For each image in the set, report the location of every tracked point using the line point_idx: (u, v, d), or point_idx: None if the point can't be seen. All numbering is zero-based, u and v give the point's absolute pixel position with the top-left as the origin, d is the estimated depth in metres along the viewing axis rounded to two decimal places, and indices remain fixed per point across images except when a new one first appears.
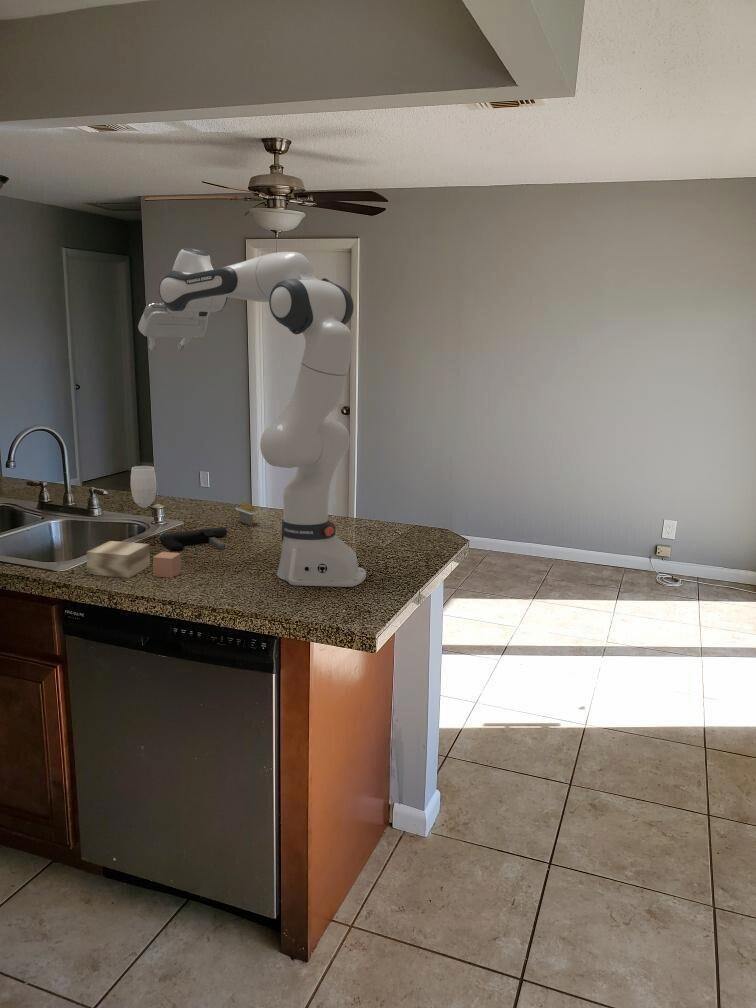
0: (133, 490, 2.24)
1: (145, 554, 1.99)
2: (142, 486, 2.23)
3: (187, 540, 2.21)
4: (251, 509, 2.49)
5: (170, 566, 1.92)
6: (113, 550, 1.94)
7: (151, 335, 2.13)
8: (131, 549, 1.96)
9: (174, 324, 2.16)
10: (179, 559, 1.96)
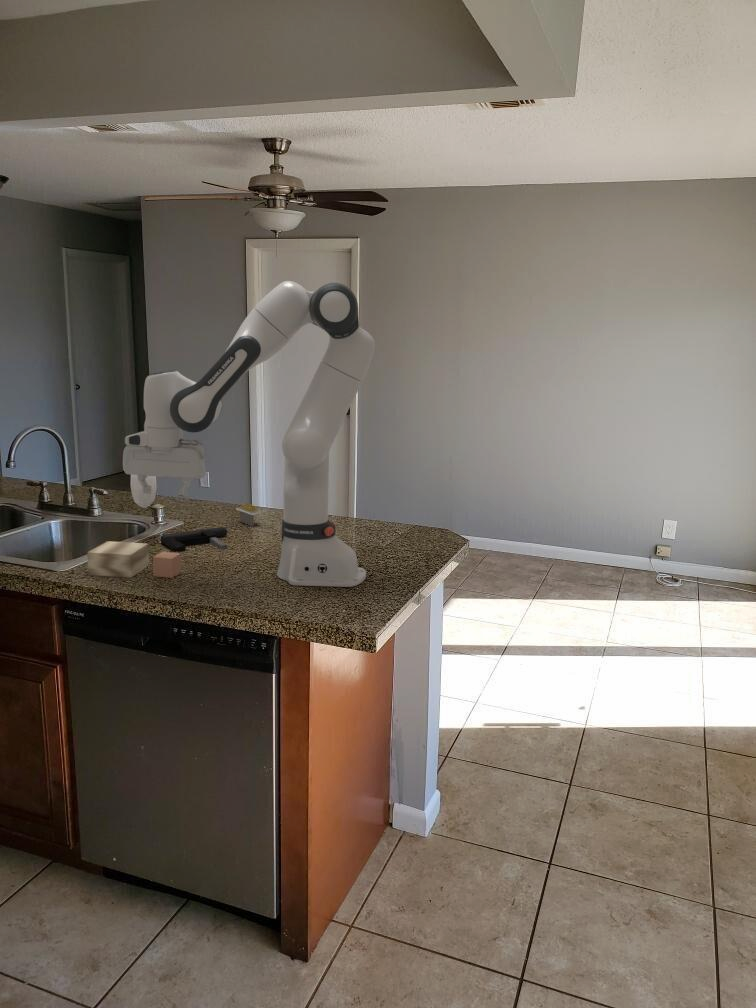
0: (133, 490, 2.24)
1: (145, 554, 2.00)
2: None
3: (188, 540, 2.21)
4: (252, 509, 2.49)
5: (170, 566, 1.92)
6: (114, 550, 1.94)
7: None
8: (132, 549, 1.96)
9: None
10: (179, 559, 1.96)
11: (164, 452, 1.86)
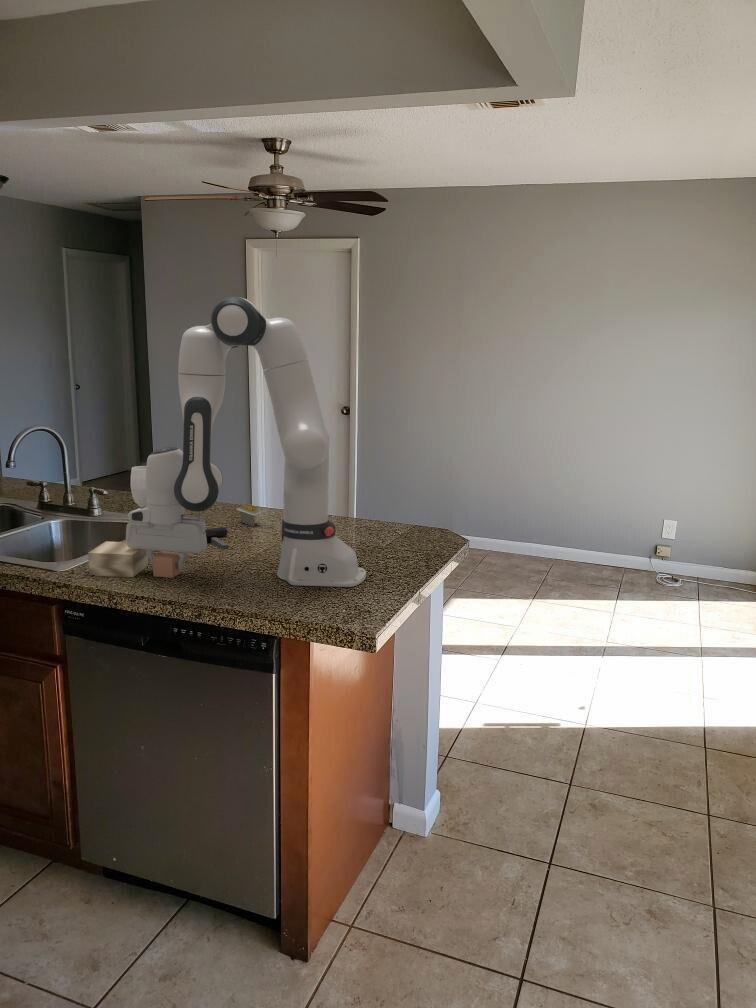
0: (133, 490, 2.24)
1: (145, 553, 2.00)
2: (142, 486, 2.23)
3: None
4: (253, 510, 2.49)
5: (170, 566, 1.92)
6: (115, 550, 1.94)
7: None
8: (132, 549, 1.96)
9: None
10: (179, 559, 1.96)
11: (166, 528, 1.90)
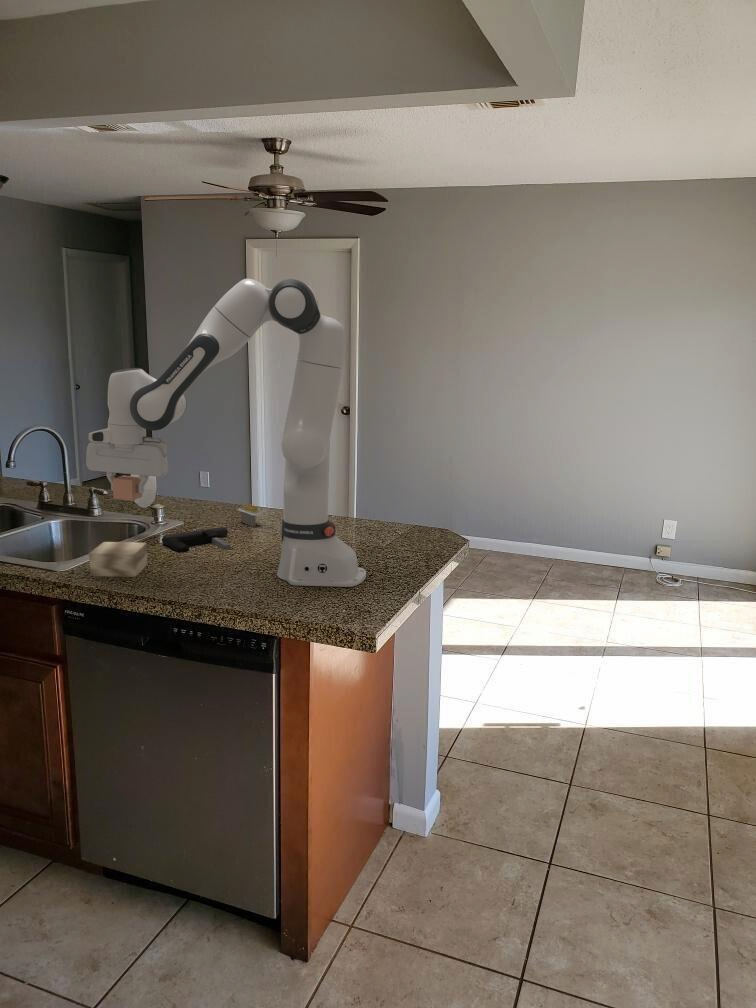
0: None
1: (144, 553, 2.00)
2: None
3: (191, 541, 2.21)
4: (254, 510, 2.48)
5: (130, 488, 1.90)
6: (116, 550, 1.94)
7: None
8: (133, 548, 1.96)
9: None
10: None
11: (127, 449, 1.88)
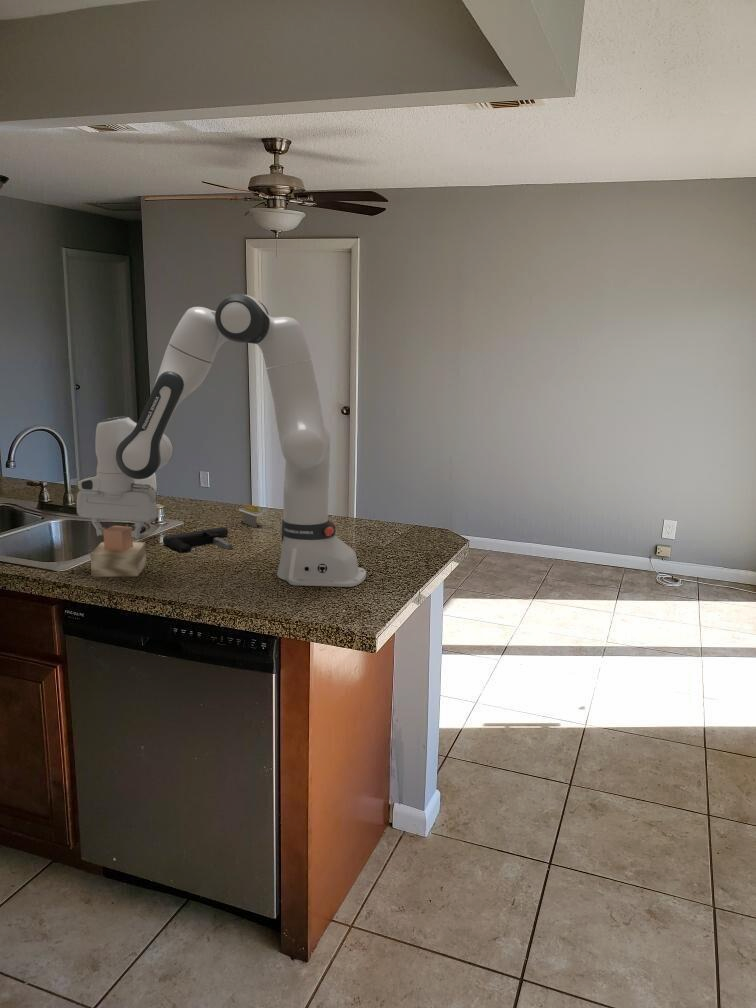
0: None
1: (143, 552, 2.01)
2: None
3: (192, 541, 2.21)
4: (255, 510, 2.48)
5: (120, 539, 1.93)
6: None
7: None
8: (133, 548, 1.97)
9: None
10: (130, 533, 1.97)
11: (116, 496, 1.91)
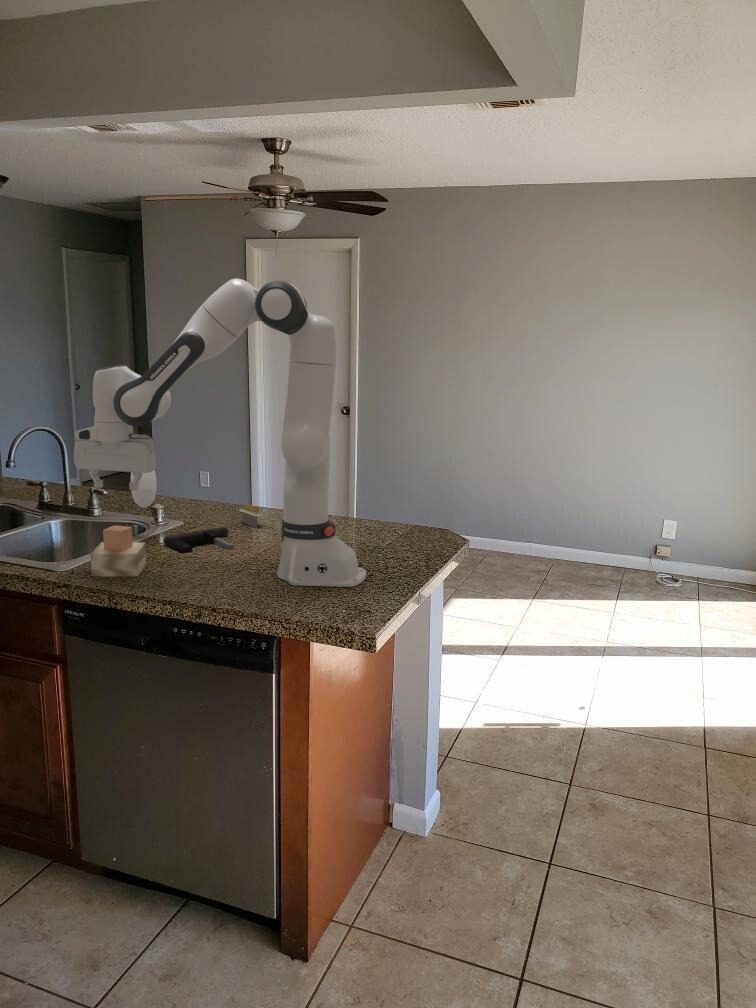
0: (133, 490, 2.24)
1: (143, 552, 2.01)
2: (142, 486, 2.23)
3: (193, 541, 2.21)
4: (255, 510, 2.47)
5: (120, 539, 1.93)
6: None
7: None
8: (133, 548, 1.96)
9: None
10: (130, 533, 1.97)
11: (114, 446, 1.88)
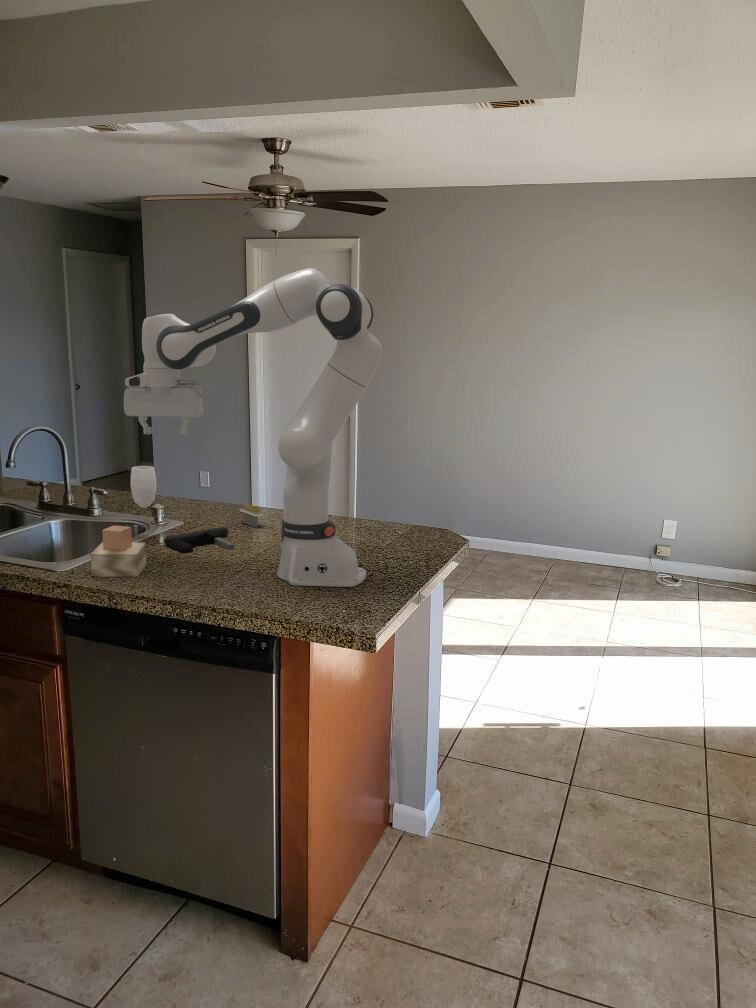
0: (133, 490, 2.24)
1: (144, 553, 2.01)
2: (142, 486, 2.23)
3: (194, 541, 2.21)
4: (256, 511, 2.47)
5: (119, 539, 1.93)
6: (117, 551, 1.94)
7: None
8: (133, 548, 1.96)
9: None
10: (129, 532, 1.97)
11: (163, 392, 1.94)
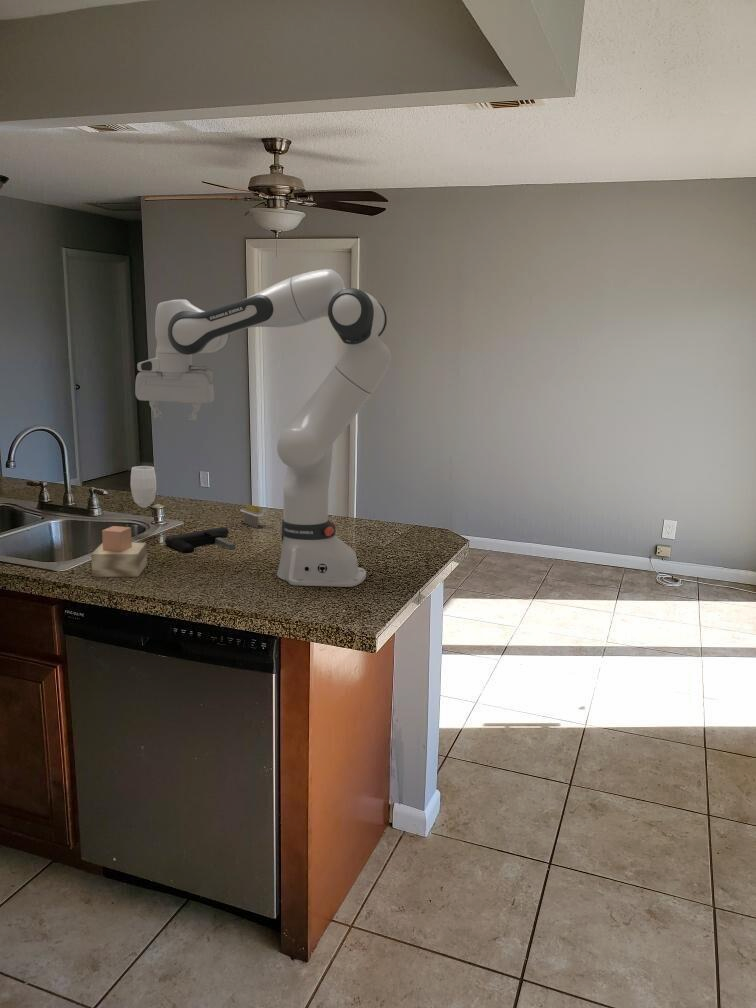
0: (133, 490, 2.24)
1: (144, 553, 2.01)
2: (142, 486, 2.23)
3: (195, 541, 2.21)
4: (256, 511, 2.47)
5: (119, 540, 1.93)
6: (117, 551, 1.94)
7: None
8: (134, 548, 1.96)
9: None
10: (129, 533, 1.97)
11: (175, 377, 1.96)
